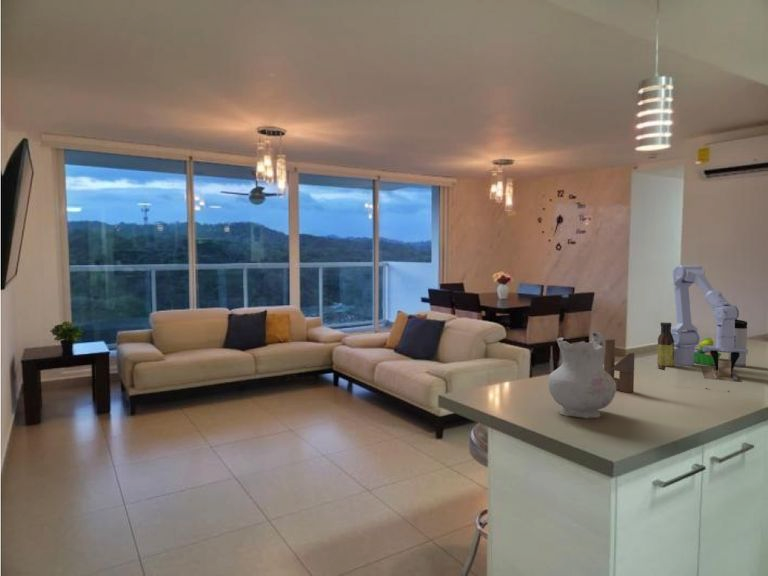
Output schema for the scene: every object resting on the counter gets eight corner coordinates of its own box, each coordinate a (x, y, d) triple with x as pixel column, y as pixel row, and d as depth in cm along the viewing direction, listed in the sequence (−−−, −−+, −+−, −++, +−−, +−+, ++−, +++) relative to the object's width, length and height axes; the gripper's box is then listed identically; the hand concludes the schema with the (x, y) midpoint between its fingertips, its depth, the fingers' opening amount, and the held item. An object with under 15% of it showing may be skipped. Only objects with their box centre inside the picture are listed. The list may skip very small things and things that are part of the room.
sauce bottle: (676, 370, 210) (677, 323, 208) (660, 370, 211) (661, 323, 209) (670, 367, 216) (671, 321, 215) (654, 366, 217) (655, 321, 216)
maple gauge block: (716, 375, 194) (716, 360, 194) (715, 372, 199) (715, 358, 198) (730, 376, 192) (731, 361, 192) (729, 374, 196) (729, 359, 196)
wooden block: (627, 393, 176) (629, 342, 175) (600, 386, 186) (601, 338, 184) (634, 391, 178) (635, 341, 177) (606, 385, 188) (608, 337, 186)
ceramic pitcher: (565, 402, 170) (560, 329, 170) (627, 408, 158) (622, 330, 157) (541, 419, 154) (535, 338, 153) (607, 427, 141) (602, 339, 141)
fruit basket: (685, 361, 227) (686, 337, 226) (697, 359, 230) (698, 335, 230) (710, 366, 216) (711, 341, 216) (723, 364, 220) (724, 339, 219)
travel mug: (739, 363, 221) (741, 319, 220) (748, 367, 215) (750, 321, 213) (724, 363, 222) (726, 318, 221) (733, 366, 215) (735, 320, 214)
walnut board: (703, 382, 191) (704, 376, 190) (700, 370, 210) (701, 364, 209) (742, 385, 185) (742, 379, 184) (735, 373, 204) (735, 367, 204)
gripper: (703, 336, 194) (702, 370, 195) (749, 339, 187) (748, 375, 188) (702, 333, 201) (701, 367, 201) (747, 336, 193) (745, 371, 194)
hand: (723, 370), depth 195 cm, fingers closed on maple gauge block, 4 cm apart
